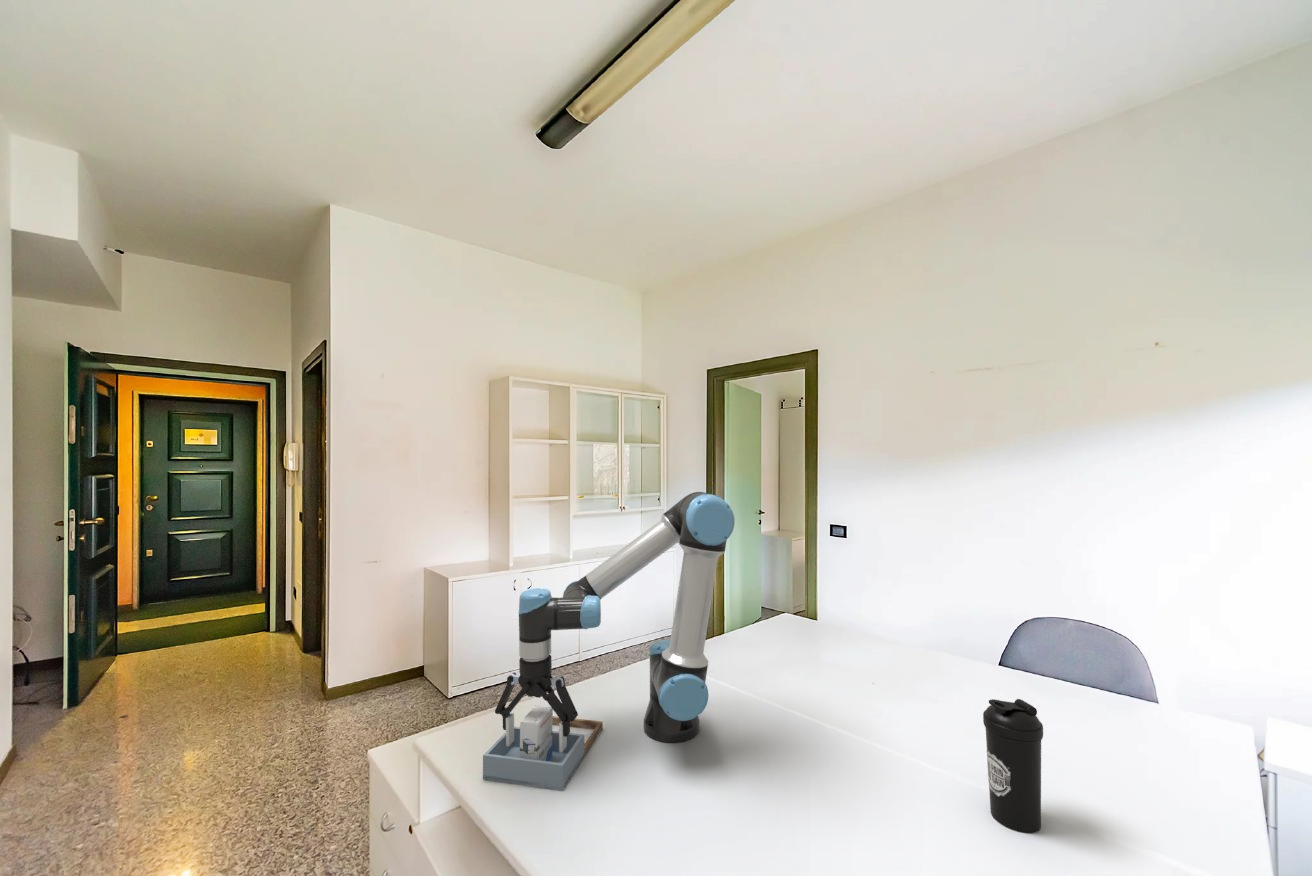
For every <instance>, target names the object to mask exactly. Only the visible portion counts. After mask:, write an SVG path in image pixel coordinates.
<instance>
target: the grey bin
mask: <svg viewBox="0 0 1312 876" xmlns="http://www.w3.org/2000/svg"><path fill="white" fill-rule="evenodd" d="M585 757H586V756H585V734H584V733H583V734H582V733H575V732H570V733H569V735H568V736H567V747H566V748H565V749H564V751H563V752H559V730H552V756H551V757H550V758H549V760H548V761H540V760H533V759H525V758H520V726H514V741H513V742H512V743H511V745H510V746H506V731H505V733H503V734H502V735H501V736H500V737H499V739H497V740H496V742H495V743H493V744H492V745H491V746H490V748H488V750H487V751H485V753H484V754H483V755H482V780H483V781H491V782H496V783H497V782H498V783H504V784H511V785H518V786H526V787H532V788H539V789H546V790H554V791H561V792H564V790H565V788H566V787H567V785H568V783H569V782H570V780H572V777H573V776H574V774H575V773H576V771H577V770H578V769H579V766H580V765H581V763H582V762H583V760H584V759H585Z"/></svg>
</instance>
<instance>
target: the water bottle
mask: <svg viewBox="0 0 1312 876" xmlns="http://www.w3.org/2000/svg"><path fill="white" fill-rule="evenodd" d="M988 704H990V705H988V706H987V708H986V709H985V710H984V711H983V714H982V717H983V718H982V722H983V726H984V728H985V740H986V742H985V743H986V758H987V777H988V786H989V787H988V789H989V790H988V791H989V805H990V806H989V807H990V808H989V809H990V814H991V816H992V818H993V819H994V820H995V821H996V822H997V823H999V824H1000V825H1002V826H1004V828H1007V829H1010V830H1013V831H1015V832H1018V833H1024V834H1034V833H1035V834H1036V833H1038V832H1039V831H1041V829H1042V740H1043V738H1044V725H1043V723H1042V722H1041V720H1040V719H1039V718H1038V716H1037V714H1038V710H1037V708H1036V707H1034V706H1033V705H1032V704H1030V703H1028V702H1027V701H1024V700H1023V699H1021V698H1017V699H1015V701H1014V702H1012V701H1005V700H1000V699H995V698H994V699H993V698H992V699H989V700H988Z"/></svg>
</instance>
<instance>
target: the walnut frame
mask: <svg viewBox="0 0 1312 876" xmlns="http://www.w3.org/2000/svg"><path fill="white" fill-rule="evenodd" d="M560 722H561V720H560V718H559V717H558V716H557V715H556V716H555V715H553V718H552V726H558V727H559V723H560ZM603 726H604V723H603V721H601V720H595V719H593V720H592V719H583V718H575V720H574V721H570V728H576V729H577V728H578V729H584V730H585V729H587V730H593V731H592V732H591V734H590V735H589V736H588V738H587V740H586V741H585V742H584V744H585V757H586V756H587V754H588V753H589V751H590V750H591V748H592V746H593V745H594V743H595V742H596V740H597V739H598V737H599V736H600V734H601V732H603V729H604V727H603Z"/></svg>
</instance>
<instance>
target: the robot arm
mask: <svg viewBox="0 0 1312 876" xmlns="http://www.w3.org/2000/svg"><path fill="white" fill-rule="evenodd" d="M735 522H736V521H735V515H734V512H733V510H732V508H731V506H730V504H729V503H728V502H727V501H725V500H724V499H723V498H722V497H720V496H719V495H715V494H711V493H707V492H703V491H696V492H695V491H694V492H691V493H689V494H687V495H685V496H684V497H683V498H681V499H680V500H679V501H678V502H676V504H674V505H672V506H671V507H669V509H668V510H666V511H665V512H664V513H662V514H661V518H660V520H659V521H658V522H656V523H655V524H653V526H651V527H650V528H648V529H647V530H646V531H644V532H642V534H640V535H639V536H637V537H636V538H635V539H633V540H632V541H630V542H629V543H628V544H626V545H625V546H624V547H622V548H621V549H619V550H618V551H617V552H616V553H614V554H613V555H611V556H610V557H609V558H608V559H606V560H605V561H603V562H602V563H601V564H599V565H597V566H596V567H595V568H594V569H592V570H591V571H590V572H588V573H587V574H585V576H583V577H581V578H580V579H579V580H575V581H574V580H573V581H572V582H570V583H569V584H568V585H567V586H566V588H565V589H564V591H563V595H562V597H552V593H551V590H550V589H547V588H540V587H539V588H530V589H527V590H524V591H522V592H521V593H520V595H519V601H518V631H519V632H518V633H519V634H518V639H519V641H518V642H519V647H518V648H519V649H518V654H519V655H518V656H519V657H520V658H519V659H518V661H519V662H518V663H519V665H518V666H519V667H518V670H519V671H518V673H519V675H518V674H517V673H516V672H512V673H511V674H509V675H508V677H506V686H505V688H504V690H503V692H502V695H501V697H500V699H499V701H498V703H497V705H496V706H495V707H496V708H495V709H494V713H495V714H496V715H500V716H501V717H502V730H503V731H505V732H506V746H510V745H511V743H512V742H513V741H514V727H515V712H514V713H513V712H512V711H513V709H515V708H516V706H518V704H519V703H520V701H521V700H522V699H523V698H524V697H525V695H526V696H527V697H528V698H532V697H535V698H540V699H541V698H542V699H543V700H544V701H546V702H547V703H548V705H549V707H552V709H553V712H554V713H555V715H556V716H557V717H559V718H560V720H561V722H560V723H559V726H558V732H559V752H563V751H564V749H565V748H566V747H567V736H568V735H569V733H571V727H570V721H574V720H575V719H577V717H578V715H579V714H578V711H577V709H576V707H575V705H574V702H573V700H572V697H571V695H570V694H569V691H568V688H567V687H566V680H565V677H564V676H559V677H557V678H554V677H553V676H552V664H553V663H552V655H551V654H552V631H565V630H567V631H568V630H588V629H595V628H598V627H600V625H601V621H602V617H601V616H602V613H601V612H602V611H601V610H602V608H601V606H602V605H601V600H602V599H603V598H605V597H606V596H607V595H608V594H610V593H612V592H614V590H616V589H617V588H618V587H619V586H621V585H623V584H624V583H625V582H626V581H628V580H629V579H630V578H632V577H634V575H635V574H637V573H638V572H640V571H642V570H643V568H645V567H646V566H648V565H649V564H650V563H653V561H655V560H656V559H658V557H661V556H662V555H663V554H664V553H665V552H667V551H668V550H670V549H671V548H672V547H674V546H675V545H676V544H678V545H679V546H680V548H681V549H682V550H683V556H682V562H681V569H680V575H679V576H680V577H679V580H678V588H677V596H676V599H675V600H676V601H675V606H674V607H675V608H674V613H673V614H674V615H673V619H672V620H673V621H672V626H671V627H672V628H671V635H670V639H663V640H657V641H655V642H653V643H651V644H650V646H649V654H648V657H649V701H648V705H647V708H646V710H645V714H644V718H643V731H644V733H645V734H646V736H648V737H649V738H651V739H653V740H656V741H659V742H664V743H681V742H686V741H688V740H690V739H692V738H694V737H696V736H697V735H698V734H699V732H700V727H701V726H700V717H699V715H701V714H702V713H703V712H704V711H705V709H706V707H707V705H708V702H709V689H708V685H707V683H706V680H707V673H708V667H709V660H708V658H707V656H706V655H705V654H704V652H705V651H704V650H705V644H706V639H707V632H708V625H709V618H710V611H711V605H712V598H713V594H714V584H715V579H716V573H717V565H718V560H719V559H718V558H719V557H721V556H722V555H724V554H725V553H726V547H727V540H728V539H729V538H730V537H731V535H732V533H733V531H734V528H735V524H736V523H735ZM517 684H519V686H520V687H521V690H519V692H518V693H517V694H516V695H515V696H514V698H513V699H512V700H511V701H510V703H509V704H508V706H507V707H506V705H507V703H508V701H509V699H510V697H511V694H512V692H513V690H514V688H515V685H517ZM552 685H553V686H554V687H553V688H554V689H555V690H556V692H557V695H558V696H557V695H556V693H555V690H554V689H553V688H552Z"/></svg>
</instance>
